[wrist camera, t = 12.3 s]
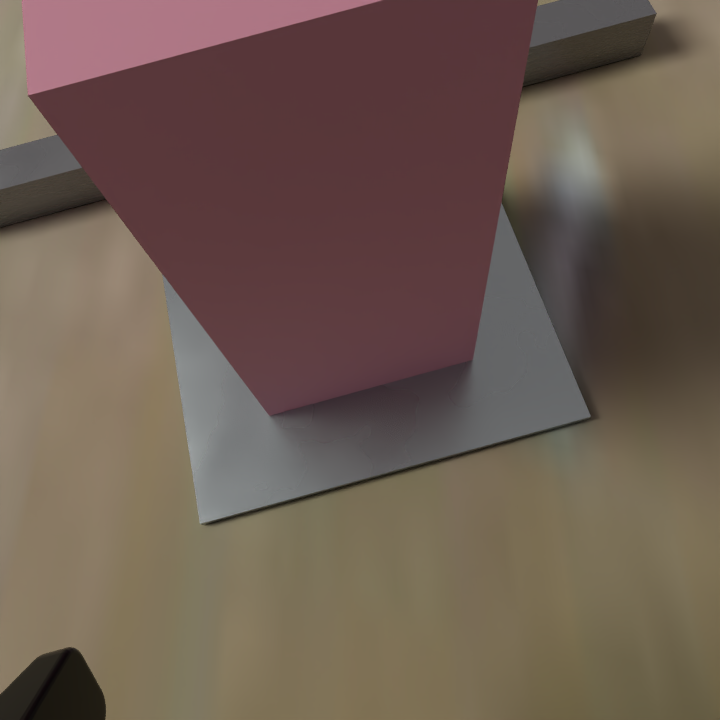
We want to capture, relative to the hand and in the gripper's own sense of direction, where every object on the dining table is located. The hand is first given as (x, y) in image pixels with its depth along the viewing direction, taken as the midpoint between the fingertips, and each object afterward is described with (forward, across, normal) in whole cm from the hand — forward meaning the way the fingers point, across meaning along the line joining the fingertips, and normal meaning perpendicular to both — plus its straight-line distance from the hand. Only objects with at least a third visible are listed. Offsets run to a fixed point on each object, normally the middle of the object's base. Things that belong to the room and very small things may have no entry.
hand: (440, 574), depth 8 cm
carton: (+11, 0, 0) cm, 11 cm away
